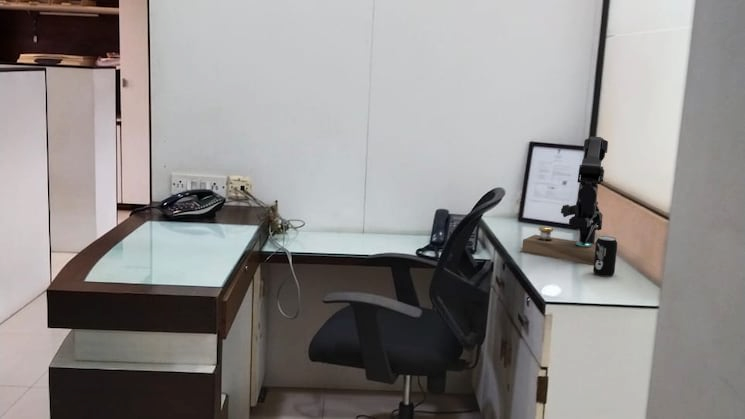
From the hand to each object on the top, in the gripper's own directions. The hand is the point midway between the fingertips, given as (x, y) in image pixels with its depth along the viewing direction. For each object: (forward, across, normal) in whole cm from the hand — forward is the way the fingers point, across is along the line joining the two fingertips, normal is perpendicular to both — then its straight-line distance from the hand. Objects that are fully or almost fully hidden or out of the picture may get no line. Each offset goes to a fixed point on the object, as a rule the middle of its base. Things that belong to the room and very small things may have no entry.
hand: (583, 242), depth 258 cm
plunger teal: (+6, 0, 0) cm, 6 cm away
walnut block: (+6, 0, -7) cm, 9 cm away
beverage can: (+6, +16, +12) cm, 21 cm away
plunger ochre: (+2, 0, -14) cm, 14 cm away
